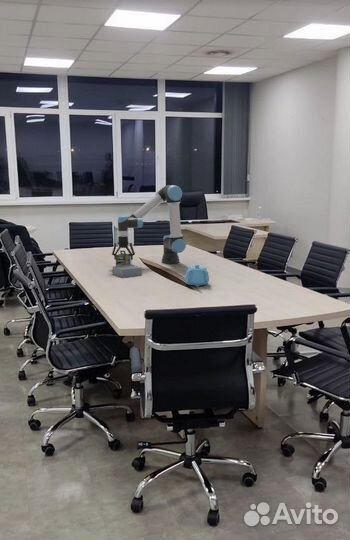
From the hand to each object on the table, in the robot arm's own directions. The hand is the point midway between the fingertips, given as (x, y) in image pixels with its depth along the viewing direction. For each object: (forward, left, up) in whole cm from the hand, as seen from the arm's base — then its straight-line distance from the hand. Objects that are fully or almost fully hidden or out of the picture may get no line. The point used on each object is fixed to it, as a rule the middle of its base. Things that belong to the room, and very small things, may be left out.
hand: (123, 263), depth 387 cm
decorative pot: (+79, +7, -4) cm, 79 cm away
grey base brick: (+20, -10, -4) cm, 23 cm away
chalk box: (0, 0, -4) cm, 4 cm away
